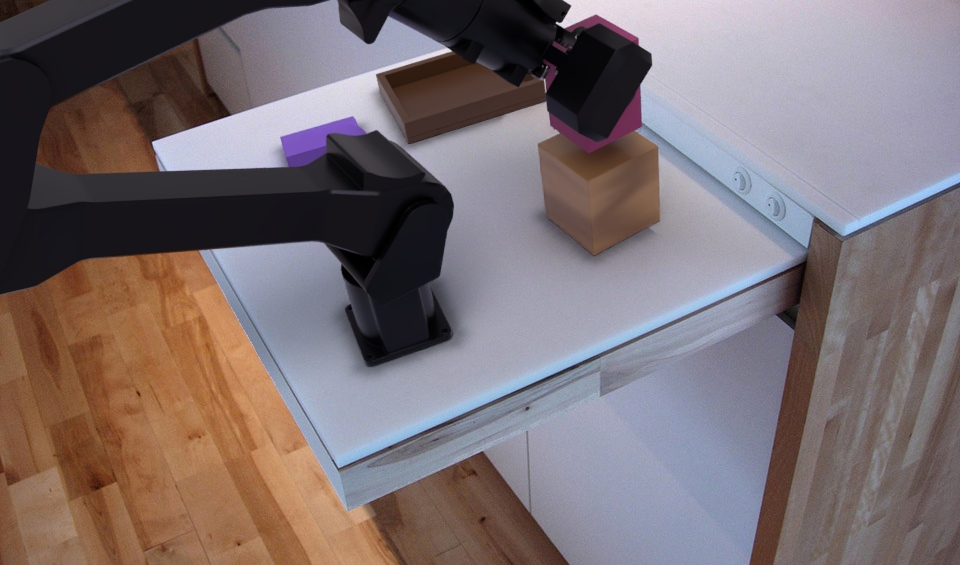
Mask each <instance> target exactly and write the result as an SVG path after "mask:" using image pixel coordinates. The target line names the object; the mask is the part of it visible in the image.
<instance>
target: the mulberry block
mask: <svg viewBox="0 0 960 565" xmlns="http://www.w3.org/2000/svg"><path fill="white" fill-rule="evenodd" d="M598 23H600V24H602V25H604V26H606V27H608V28H609V29H611V30H613V31H615V32H616V33H618V34H620V35H622V36H624V37H625V38H627V39H629V40H631V41H632V42H634V43H636V44H637V45H639V46H640V44H639V43H640V41H639V40H640V38H639V37H638V36H636V35H634V34H633V33H630V32H629V31H628V30H626V29H623V28H621V27H620V26H619V25H616V24H615V23H612V22H611V21H609V20H607V18H604V17H602V16H600V15H599V14H594V15H592V16H589V17H587V18H584V19H582V20H580V21H578V22H575V23H573V24H571V25H569V26H567V27H564V28H565V29H566V30H568V31H570V32H571V31H573V30H574V29H575V28H576V27H578V26H583V27H585V28H589V27H591V26H593V25H596V24H598ZM553 45H554V46H555V47H557V48H559V49H560V50H562V51H563V52H566V51H567V49H568V48H567V49H566V48H564V47H563V46H561V45H560V44H558V43H556V42H555V41H554V42H553ZM569 47H571V46H569ZM571 48H572V47H571ZM543 63H545V64H546V65H548V66H549V67H550V71H549V73H548V75H547V76H546V78H545V79H544V84H545V93H546V92H547V90H548V88H549V87H550V85H551V83H552V81H553V80H554V78H555V76H556V74H555V73H554V71H555V69H556V68H557V67H555V66H554V65H552V64H551V63H549V62H548V61H546V60H545V59H544V60H543ZM641 89H642V88H641V85H640V86H639V88H638V90H637V91H636V95H635V97H634V98H633V100H632V102H631V103H630V105H629V106H627V108H626V109H625V111H624V113H623V114H622V116H621V118H620V119H619V121H618V123H617V124H616V126H615V127H614V129H613V131H612V132H611V134H610V136H609V137H608V139H605V140H603V141H600V142H598V143H597V142H595V141H593V140H591V139H589V138H587V137H585V136H583V135H581V134H579V133H577V132H576V131H575V130H573V129H572V128H570V127H569V126H567V125H566V124H565V123H563V122H562V121H560V120H559V119H558V118H556V117H555V116H553V115H552V114H550V113H549V112H548V118H549V126H550V127H551V128H552V129H554V131H557V132H558V133H561V134H562V135H564V136H565V137H566V138H568V139H569V140H571V141H572V142H573V143H575V144H576V145H578V146H579V147H580V148H582V149H583V150H585V151H586V152H587V153H591V152H593V151H595V150H597V149H599V148H601V147H603V146H605V145H607V144H609V143H611V142H613V141H615V140H617V139H619V138H621V137H623V136H625V135H627V134H629V133H631V132H633V131H637V130H638V129H641V128H642V127H643V118H642V92H641V91H642V90H641Z"/></svg>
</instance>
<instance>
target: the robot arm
mask: <svg viewBox="0 0 960 565" xmlns="http://www.w3.org/2000/svg"><path fill="white" fill-rule="evenodd" d="M329 1H330V0H47V1H45V2H43V3H41V4H38V5H36V6H34V7H32V8H29V9H28V10H25V11H23V12H21V13H18V14H16V15H14V16H12V17H9V18H7V19H5V20H2V21H0V296H4V295H8V294H14V293H17V292H21V291H25V290H26V291H27V290H30V289H34V288H36V287H39V286H40V285H42V284H43V283H45V282H46V281H49V280H50V279H52V278H53V277H54V278H55V277H56V276H58V275H59V274H61V273H62V272H64V271H66V270H67V269H69V268H71V267H72V266H74V265H76V264H77V263H80V262H83V261H84V262H85V261H89V260H98V259H109V258H124V257H134V256H135V257H136V256H147V255H160V254H161V255H162V254H172V253H173V254H174V253H187V252H196V251H197V252H198V251H208V250H209V251H210V250H211V251H212V250H222V249H223V250H224V249H235V248H236V249H237V248H248V247H249V248H250V247H261V246H273V245H274V246H275V245H287V244H299V243H310V242H313V243H322V244H324V245H325V246H326V247H327V249H328V250H329V251H330V252H331V253H332V255H333V256H334V257H335V258H336V259H337V260H338V261H339V262H340V272H341V276H342V278H343V279H342V280H343V283H344V286H345V289H346V293H347V296H348V299H349V304H347V305H346V306H345V308H344V311H345V314H346V317H347V320H348V322H349V325H350V328H351V331H352V333H353V336H354V338H355V341H356V344H357V346H358V349H359V351H360V354H361V357H362V359H363V362H364V364H365V365H366V366H369V367H372V366H375V365H378V364H382V363H384V362H387V361H391V360H392V359H396V358H398V357H402V356H404V355H406V354H407V355H408V354H410V353H412V352H413V353H414V352H416V351H419V350H421V349H424V348H427V347H429V346H433V345H435V344H438V343H441V342H444V341H447V340H449V339H451V338H452V336H453V330H452V328H451V325H450V324H449V322H448V319H447V317H446V315H445V313H444V311H443V309H442V307H441V305H440V303H439V300H438V299H437V296H436V295H435V293H434V291H433V288H432V287H431V284H430V283H431V282H433V281H435V280H438V278H440V276H441V273H442V267H443V261H444V256H445V249H446V243H447V237H448V231H449V229H450V226H451V223H452V221H453V218H454V213H455V212H454V210H455V203H454V199H453V195H452V193H451V192H450V191H449V189H448V188H447V187H446V185H444V184H443V182H441V181H440V180H439V179H438V178H437V177H436V176H434V175H433V173H431V172H430V171H429V170H427V168H425V167H424V166H423V164H421V163H420V162H419V161H418V160H416V159H415V158H414V157H413V156H412V155H411V154H410V153H409V152H408V151H406V150H405V149H404V148H403V146H401V145H399V144H398V143H396V142H394V141H392V140H389V139H388V138H387V137H386V136H385V135H383V133H381V131H379V130H377V129H375V130H372V131H370V132H366V133H367V134H363V135H357V136H354V135H345V134H339V133H329V134H327V136H326V153H325V154H323V155H322V156H320V157H319V158H317V159H315V160H314V161H312V162H311V163H309V164H307V165H304V166H298V167H289V166H278V167H276V166H275V167H247V168H245V167H244V168H220V169H219V168H216V169H215V168H214V169H189V170H188V169H187V170H185V169H183V170H157V171H130V172H128V171H127V172H126V171H125V172H101V173H100V172H99V173H98V172H97V173H96V172H95V173H94V172H93V173H71V172H64V171H61V170H58V169H55V168H53V167H48V166H46V165H43V164H40V163H37V157H38V152H39V151H38V150H39V144H40V138H41V134H42V132H43V129H44V126H45V123H46V121H47V118H48V114H49V112H50V110H51V109H52V108H54V107H56V106H59V105H60V104H63V103H64V102H66V101H68V100H71V99H73V98H75V97H77V96H79V95H81V94H83V93H85V92H87V91H89V90H91V89H93V88H96V87H98V86H100V85H103V84H104V83H106V82H108V81H111V80H113V79H114V78H116V77H119V76H121V75H122V74H125V73H127V72H130V71H131V70H134V69H136V68H138V67H140V66H142V65H144V64H146V63H148V62H150V61H152V60H155V59H156V58H159V57H161V56H163V55H165V54H167V53H170V52H171V51H173V50H175V49H177V48H179V47H181V46H183V45H186V44H188V43H190V42H192V41H194V40H196V39H199V38H200V37H202V36H205V35H207V34H209V33H211V32H213V31H215V30H217V29H219V28H221V27H223V26H225V25H228V24H229V23H232V22H234V21H237V20H238V19H239V18H240V19H241V18H242V17H244V16H246V15H251V14H254V13H257V12H261V11H265V10H270V9H285V8H301V7H311V6H315V5H318V4H322V3H325V2H329ZM336 1H337V4H338V8H337V9H338V16H339V17H338V18H339V23H340V24H341V25H342V26H343V27H344V28H346V29H347V30H348V32H351V33H352V34H353V35H354V36H356V37H357V38H358V39H359V40H361V41H362V42H363V43H364V44H366V45H372V44H374V43H375V42H376V40H377V38H378V37H379V35H380V33H381V31H382V29H383V26H384V25H385V23H386V21H387V19H388V18H390V19H392V20H394V21H396V22H398V23H400V24H403V25H404V26H406V27H408V28H410V29H412V30H413V31H416V32H417V33H420V34H421V35H424V36H425V37H427V38H428V39H429V38H430V39H431V40H433V41H435V42H436V43H438V44H440V45H442V46H444V47H446V49H447V50H450V52H451V51H453V52H454V53H455V54H457V55H458V56H460V57H461V58H462V59H464V60H466V61H468V62H470V63H472V64H475V62H477V63H479V64H481V65H483V66H485V67H487V68H489V69H491V70H493V72H495V73H496V74H497V75H499V76H500V77H502V78H503V79H505V80H506V81H507V82H509V83H511V84H513V85H515V86H517V87H519V86H520V84H521V83H522V81H523V79H524V78H525V76H526V74H530V75H534V76H535V77H537V78H538V79H540V80H544V81H545V78H546V76H547V75H548V73H549V71H550V67H549V66H548V65H546V64H545V63H543V60H544V59H545V60H546V61H548V62H549V63H551V64H552V65H554V66H555V67H557V68H556V69H555V71H554V73H555V74H556V76H555V78H554V80H553V81H552V83H551V85H550V87H549V88H548V90H547V92H546V91H545V95H546V101H545V102H546V111H547V113H548V114H549V113H550V114H552V115H553V116H555V117H556V118H558V119H559V120H560V121H562V122H563V123H565V124H566V125H567V126H569V127H570V128H572V129H573V130H575V131H576V132H577V133H579V134H581V135H583V136H585V137H587V138H589V139H591V140H593V141H595V142H597V143H598V142H600V141H603V140H605V139H608V137H609V136H610V134H611V132H612V131H613V129H614V127H615V126H616V124H617V123H618V121H619V119H620V118H621V116H622V114H623V113H624V111H625V109H626V108H627V106H629V105H630V103H631V102H632V100H633V98H634V97H635V95H636V91H637V90H638V88H639V86H640V87H641V85H642V83H643V82H644V80H645V78H646V77H647V75H648V73H649V72H650V70H651V68H652V67H653V56H652V53H651V52H650V51H648V49H647V50H646V49H645V48H643V47H642V46H641V45H640V44H639V45H637V44H636V43H634V42H632V41H631V40H629V39H627V38H625V37H624V36H622V35H620V34H618V33H616V32H615V31H613V30H611V29H609V28H608V27H606V26H604V25H602V24H600V23H598V24H596V25H593V26H591V27H589V28H585V27H583V26H578V27H576V28H575V29H574V30H573V31H571V32H570V31H568V30H566V29H565V28H566V27H563V26H561V25H559V24H562V23H563V22H564V20H565V18H566V17H567V16H568V13H569V11H570V9H571V8H572V5H571V4H570V3H568V2H567V1H565V0H336ZM554 41H555V42H556V43H558V44H560V45H561V46H563V47H564V48H566V49H567V48H568V49H567V51H566V52H563V51H562V50H560V49H559V48H557V47H555V46H554V45H553V42H554ZM569 46H571V47H572V48H571V47H569Z"/></svg>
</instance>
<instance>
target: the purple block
mask: <svg viewBox="0 0 960 565" xmlns="http://www.w3.org/2000/svg"><path fill="white" fill-rule="evenodd" d="M329 133H339V134H345V135H354V136H357V135H363V134H367V133H368V132H366V131H365V130H364V129H363V128H361V127H360V126H359V124H358V121H357V120H356V118H355V117H354V116H353V115H352V116H348V117H344V118H342V119H338V120H334V121H331V122H328V123H327V122H326V123H323V124H320V125H317V126H313V127H310V128H306V129H303V130H300V131H295V132H292V133H289V134H285V135H282V136H279V139H280V142H281V145H282V150H283V154H284V156H285V159H286V163H287V165H288V166H287V167H298V166H304V165H307V164H309V163H311V162H312V161H314V160H315V159H317V158H319V157H320V156H322V155H323V154H325V153H326V136H327V134H329Z"/></svg>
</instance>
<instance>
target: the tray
mask: <svg viewBox="0 0 960 565" xmlns="http://www.w3.org/2000/svg"><path fill="white" fill-rule="evenodd" d="M375 77H376V82H377V86H378V90H379V94H380V96H381V98H382V99H383V101H384V103H385V105H386V108H388V110H389V112H390V114H391V115H392V118H393V119H394V121H395V123H396V125H397V126H398V128H399V129H400V131H401V134H402V135H403V137H404V138H405V140H406V142H407V144H409V145H410V144H413V143H416V142H419V141H422V140H425V139H429V138H431V137H435V136H438V135H441V134H444V133H447V132H451V131H454V130H457V129H460V128H463V127H467V126H470V125H473V124H477V123H479V122H484V121H486V120H490V119H492V118H496V117H499V116H501V115H502V116H503V115H505V114H509V113H511V112H515V111H518V110H522V109H525V108H528V107H531V106H534V105H537V104H541V103H543V102H546V95H545V93H546V83H545V79H544V80H540V79H538V78H537V77H535V76H534V75H530V74H526V76H525V78H524V79H523V81H522V83H521V84H520V86H519V87H517V86H515V85H513V84H511V83H509V82H507V81H506V80H505V79H503V78H502V77H500V76H499V75H497V74H496V73H495V72H493V70H491V69H489V68H487V67H485V66H483V65H481V64H479V63H477V62H475V64H472V63H470V62H468V61H466V60H464V59H462V58H461V57H460V56H458V55H457V54H455V53H454V52H453V51H451V50H450V51H448V52H445V53H441V54H439V55H435V56H432V57H428V58H425V59H421V60H418V61H416V62H412V63H409V64H405V65H401V66H399V67H394V68H392V69H391V68H390V69H388V70H385V71H381V72H379V73H378V72H377V73H376V74H375Z"/></svg>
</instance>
